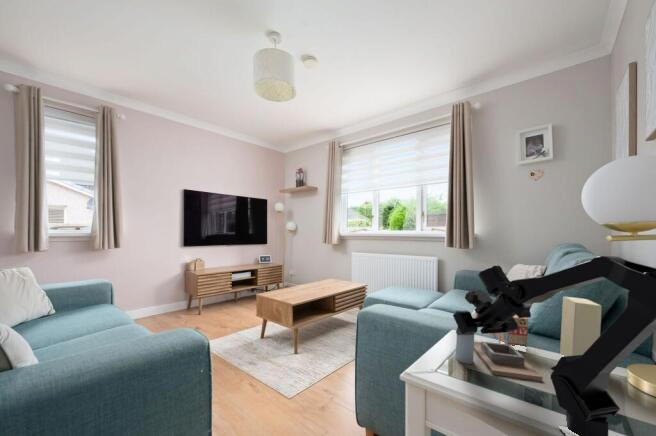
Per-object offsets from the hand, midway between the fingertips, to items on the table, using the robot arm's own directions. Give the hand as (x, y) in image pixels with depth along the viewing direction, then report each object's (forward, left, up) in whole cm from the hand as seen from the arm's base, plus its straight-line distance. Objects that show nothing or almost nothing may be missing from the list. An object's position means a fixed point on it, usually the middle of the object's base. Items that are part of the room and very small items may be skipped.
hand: (469, 332), depth 85 cm
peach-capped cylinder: (+2, +1, -9) cm, 9 cm away
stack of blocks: (+24, -20, -10) cm, 33 cm away
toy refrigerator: (+8, -35, -9) cm, 37 cm away
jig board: (+5, -11, -9) cm, 15 cm away
